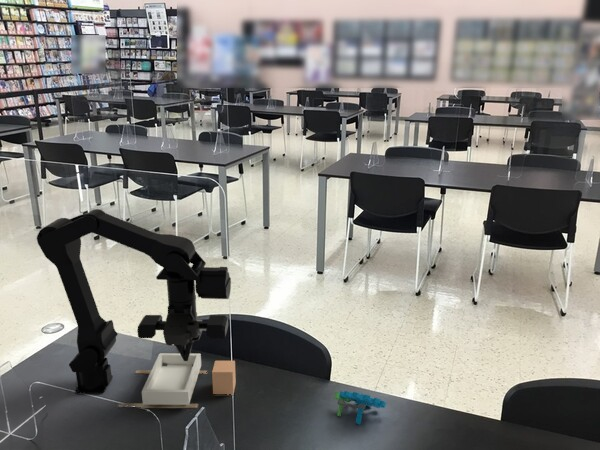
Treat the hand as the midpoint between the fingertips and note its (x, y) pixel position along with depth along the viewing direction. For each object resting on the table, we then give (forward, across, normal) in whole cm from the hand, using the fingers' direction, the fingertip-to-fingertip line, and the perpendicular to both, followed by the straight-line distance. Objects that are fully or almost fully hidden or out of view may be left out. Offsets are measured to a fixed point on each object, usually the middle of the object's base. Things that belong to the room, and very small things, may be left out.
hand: (186, 360), depth 114 cm
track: (+7, -5, 0) cm, 9 cm away
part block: (+8, +8, 0) cm, 11 cm away
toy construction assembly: (+8, +38, -8) cm, 40 cm away
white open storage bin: (+7, -3, 0) cm, 8 cm away
